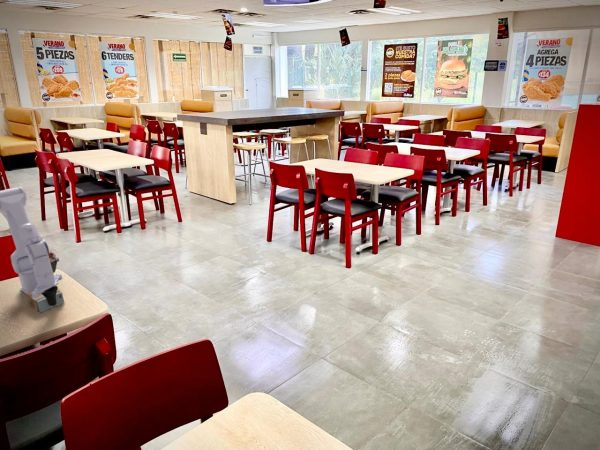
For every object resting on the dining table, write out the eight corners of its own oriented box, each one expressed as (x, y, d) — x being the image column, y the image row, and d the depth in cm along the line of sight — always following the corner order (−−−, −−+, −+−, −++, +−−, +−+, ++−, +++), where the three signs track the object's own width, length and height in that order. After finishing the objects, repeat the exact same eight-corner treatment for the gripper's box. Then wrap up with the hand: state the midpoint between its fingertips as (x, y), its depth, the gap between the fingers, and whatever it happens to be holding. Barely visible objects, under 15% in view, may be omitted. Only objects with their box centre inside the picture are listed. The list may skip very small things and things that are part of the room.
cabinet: (29, 304, 176) (25, 293, 174) (52, 294, 183) (49, 283, 181) (39, 312, 171) (35, 300, 169) (62, 301, 177) (59, 290, 175)
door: (39, 311, 171) (36, 301, 169) (63, 301, 177) (60, 291, 175) (41, 312, 170) (38, 302, 168) (65, 303, 176) (62, 292, 174)
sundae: (48, 286, 188) (49, 253, 184) (37, 281, 190) (37, 248, 186) (62, 281, 194) (63, 249, 190) (51, 276, 196) (51, 244, 192)
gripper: (41, 282, 159) (50, 315, 164) (65, 264, 173) (74, 295, 177) (22, 281, 160) (33, 315, 165) (48, 264, 174) (57, 295, 178)
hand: (53, 304), depth 171 cm, fingers closed, pressing on door
